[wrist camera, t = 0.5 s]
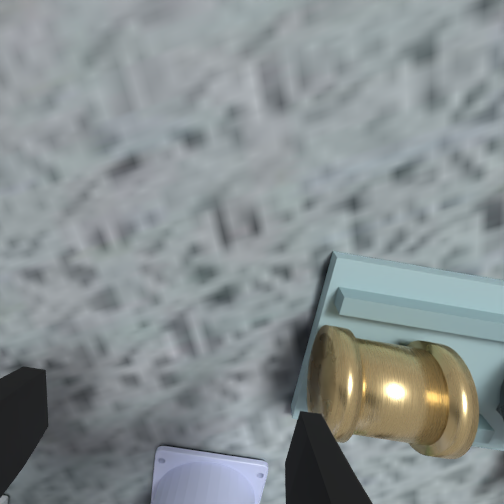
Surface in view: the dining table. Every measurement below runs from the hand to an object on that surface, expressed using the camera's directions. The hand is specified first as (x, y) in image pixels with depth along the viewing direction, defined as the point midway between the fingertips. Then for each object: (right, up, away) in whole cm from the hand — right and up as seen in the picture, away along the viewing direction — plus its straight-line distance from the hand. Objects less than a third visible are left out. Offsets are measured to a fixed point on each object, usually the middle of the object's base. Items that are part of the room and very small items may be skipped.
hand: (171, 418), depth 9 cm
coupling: (+9, -1, +9) cm, 13 cm away
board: (+13, -2, +10) cm, 17 cm away
